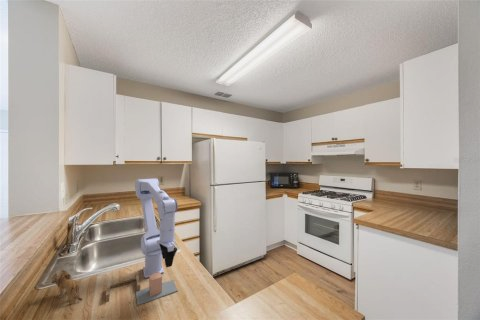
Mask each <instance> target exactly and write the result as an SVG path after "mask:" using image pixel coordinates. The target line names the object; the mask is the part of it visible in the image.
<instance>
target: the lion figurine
mask: <svg viewBox="0 0 480 320" xmlns="http://www.w3.org/2000/svg"><path fill="white" fill-rule="evenodd" d="M54 273H55V274H54V275H52V277H51V278H50V279H49V280H48V281H49V282H50V283H51V284H52V285H53V284H54V283H55V285H57V287H58V288H59V289H58V290H59V295H58V298H59V299H61V298H62V297H63V296H64V290H66V292H65V293H66V294H67V296H68V299H70V300H69V301H70V302H69V303H68V304H69V305H73V304H74V303H75V301H74V297H73V293H74V295H75V298H76V299H77V300H78V302H81V301H83V298H81V297H80V294H79V287H80V286H79V283H78V280H77V279H73V278H72V276H71V274H70V273H69V272H67V271H66V270H65V269H63V270H62V269H59V270H57V271H55V272H54Z"/></svg>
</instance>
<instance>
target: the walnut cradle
mask: <svg viewBox="0 0 480 320" xmlns="http://www.w3.org/2000/svg"><path fill="white" fill-rule="evenodd" d="M133 282H135V285H136V286H135V287H136V291H139V290H141V283H140V282H141V281H140V276H139V274H137V275H136V274H135V278H132V279H130V280H126V281H121V282H119V283H114V284H112V285H111V282H108V283H106V292H105V293H106V294H105V303H108V302H110V296H111V289H113V288H116V287H117V288H118V287H120V286H124V285H127V284H131V283H133Z"/></svg>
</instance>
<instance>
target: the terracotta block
mask: <svg viewBox="0 0 480 320" xmlns="http://www.w3.org/2000/svg"><path fill="white" fill-rule="evenodd" d="M148 278H149V279H148V283H149V284H148V288H149V292H150V296H153V295H156V294H159V293H162V283H163V277H162V273H160V272H158V273H155V274H151V275H149V277H148Z"/></svg>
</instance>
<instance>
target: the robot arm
mask: <svg viewBox="0 0 480 320" xmlns="http://www.w3.org/2000/svg"><path fill="white" fill-rule="evenodd" d="M159 186H160V181H159V179H158V178H156V177H155V178H137V179H136V180H135V184H134V189H135V196H136V198H137V199H140V203H141V208H142V215H143V220H144V221H143V222H144V228H145V233H144V234H143V235H142V236H141V238H140V251H141V254H143V255H144V266H143V267H142V271H143V276H144V278H145V279H147V278H149V275H151V274H155V273H158V272H160V273H161V274H163V273H165V270H164V268H163V259H164V265H165V267H166V268H170V267H173V263H174V258H175V256H176V253H177V252H178V247H174V245H175V242H176V238H175V236H176V235H175V231H176V228H175V227H176V226H175V225H176V212H177V211H178V206H179V205H178V201H177V199H176V198H174V197H170V196H169V195H168V193H166V191H164V190H163V189H160V187H159ZM153 202H154V203H155V205H156V206H157V213H158V218H159V229H158V226H157V220H156V216H155V209H154V206H153V205H154V204H153Z"/></svg>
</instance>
